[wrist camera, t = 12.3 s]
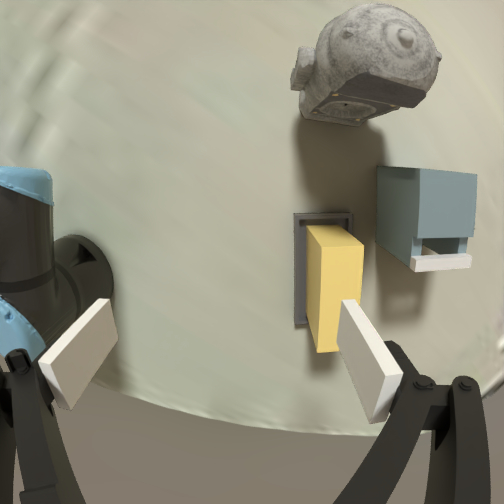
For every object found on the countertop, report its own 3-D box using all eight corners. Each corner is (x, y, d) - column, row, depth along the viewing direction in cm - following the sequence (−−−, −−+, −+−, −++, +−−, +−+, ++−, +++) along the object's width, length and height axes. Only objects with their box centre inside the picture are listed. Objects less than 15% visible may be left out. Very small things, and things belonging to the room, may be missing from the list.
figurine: (376, 131, 40) (481, 109, 16) (284, 118, 40) (313, 63, 16) (377, 74, 37) (468, 13, 13) (287, 59, 38) (313, -37, 14)
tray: (294, 319, 49) (295, 324, 47) (293, 213, 44) (294, 215, 42) (343, 315, 49) (346, 321, 47) (349, 212, 44) (352, 214, 42)
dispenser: (375, 242, 45) (414, 272, 32) (376, 165, 42) (421, 168, 28) (423, 240, 45) (470, 267, 31) (426, 169, 41) (478, 174, 28)
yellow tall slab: (305, 310, 48) (317, 352, 36) (306, 225, 44) (321, 247, 33) (335, 308, 48) (354, 349, 36) (338, 224, 44) (364, 245, 32)
